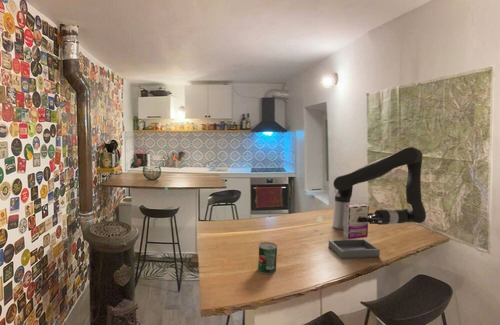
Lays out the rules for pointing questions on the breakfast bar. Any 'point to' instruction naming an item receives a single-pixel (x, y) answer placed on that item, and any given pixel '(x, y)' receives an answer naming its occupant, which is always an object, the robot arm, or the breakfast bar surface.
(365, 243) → the tray
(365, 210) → the candy bar box
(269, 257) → the canned tomato
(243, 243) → the breakfast bar surface
